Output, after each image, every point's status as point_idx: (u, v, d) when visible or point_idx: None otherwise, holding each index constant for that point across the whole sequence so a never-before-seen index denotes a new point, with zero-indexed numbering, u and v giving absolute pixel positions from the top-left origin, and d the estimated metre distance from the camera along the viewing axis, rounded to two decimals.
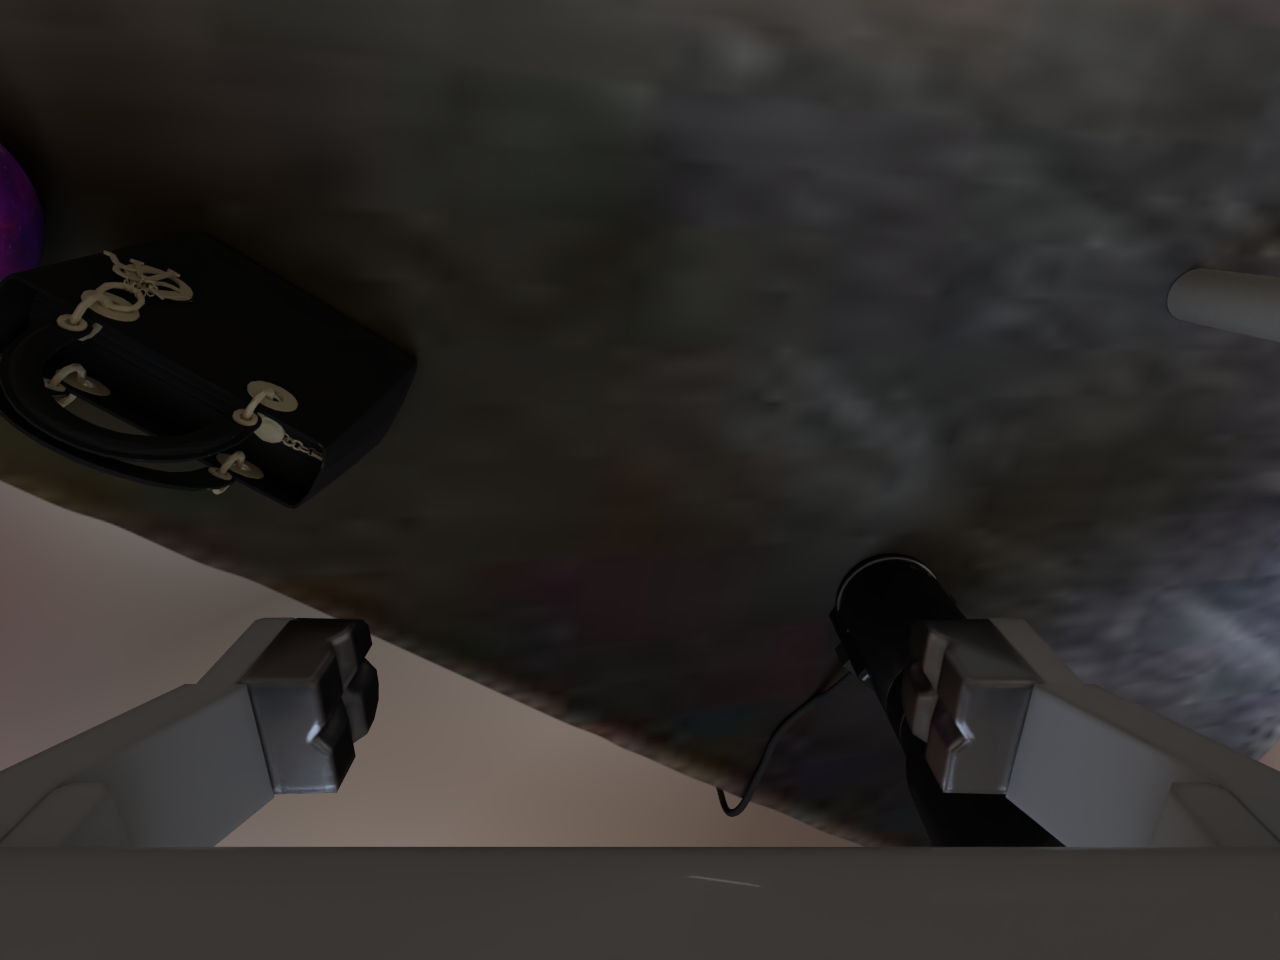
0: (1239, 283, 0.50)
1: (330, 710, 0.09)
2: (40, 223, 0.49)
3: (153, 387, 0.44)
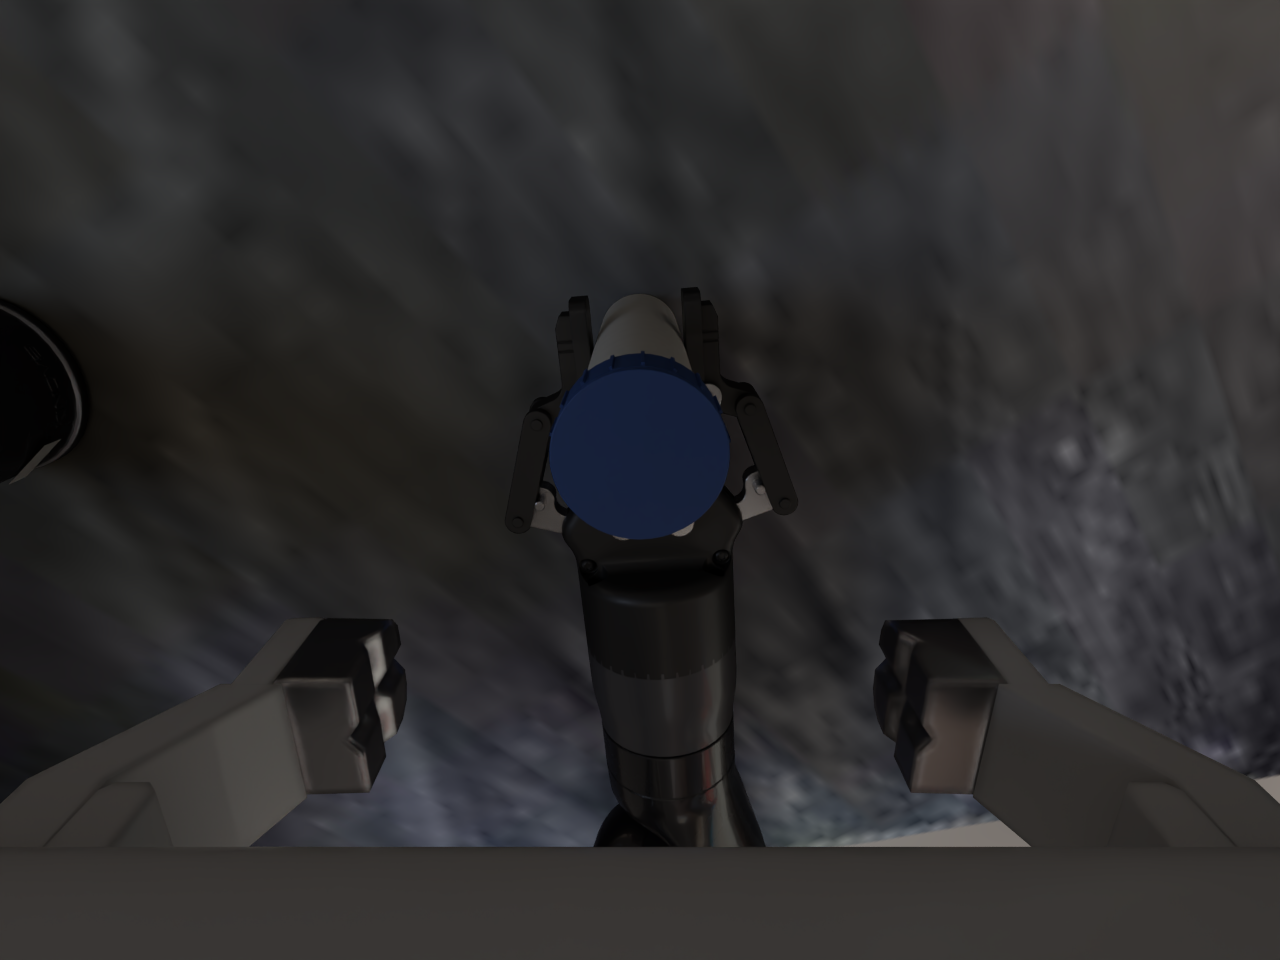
0: (645, 309, 0.31)
1: (363, 710, 0.09)
2: None
3: None
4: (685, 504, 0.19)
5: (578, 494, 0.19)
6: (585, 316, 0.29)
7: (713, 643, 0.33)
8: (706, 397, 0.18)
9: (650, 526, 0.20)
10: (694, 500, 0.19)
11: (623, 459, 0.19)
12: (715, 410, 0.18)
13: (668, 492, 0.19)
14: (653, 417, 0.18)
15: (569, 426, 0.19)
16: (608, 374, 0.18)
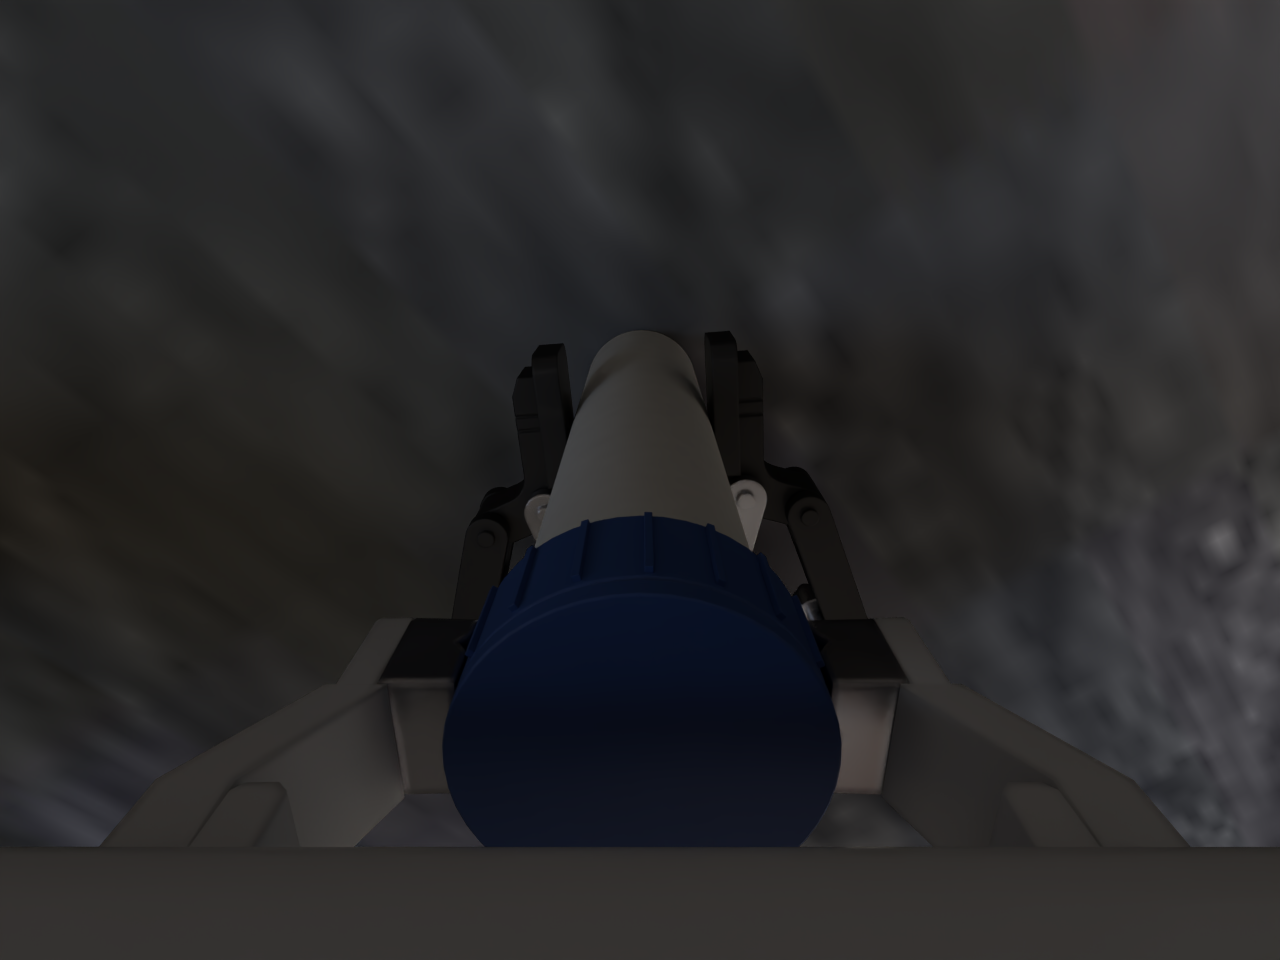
0: (649, 363, 0.21)
1: None
2: None
3: None
4: None
5: (510, 831, 0.09)
6: (558, 379, 0.19)
7: None
8: (795, 649, 0.08)
9: None
10: (759, 842, 0.09)
11: (606, 769, 0.09)
12: (814, 676, 0.08)
13: (704, 827, 0.09)
14: (673, 690, 0.08)
15: (483, 707, 0.08)
16: (569, 603, 0.08)
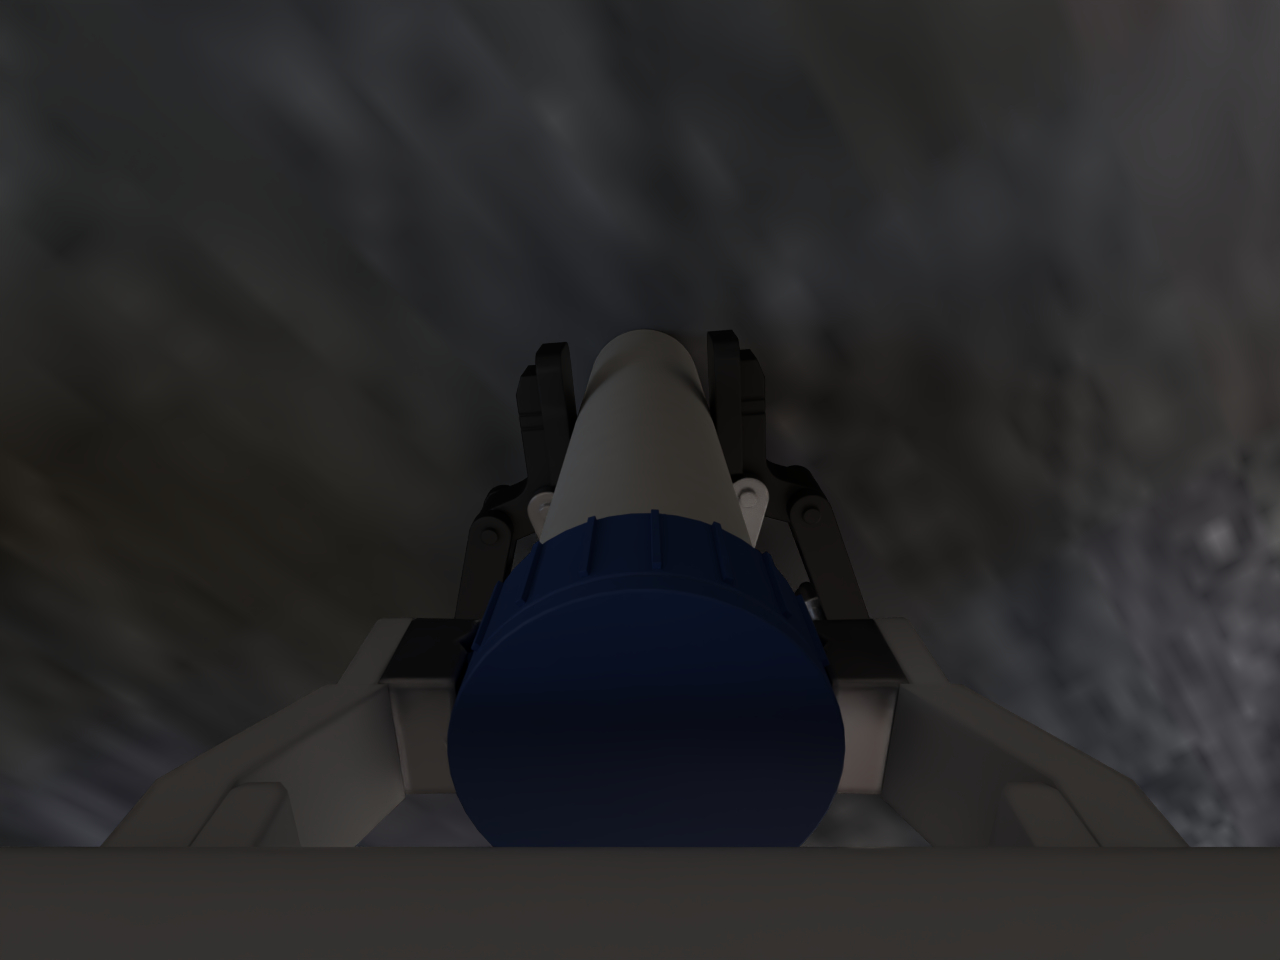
0: (652, 362, 0.21)
1: None
2: None
3: None
4: (779, 697, 0.08)
5: None
6: (561, 377, 0.19)
7: None
8: (529, 617, 0.08)
9: (812, 768, 0.09)
10: (774, 679, 0.08)
11: (641, 791, 0.09)
12: (562, 606, 0.08)
13: (740, 723, 0.08)
14: (556, 725, 0.08)
15: None
16: (453, 783, 0.09)
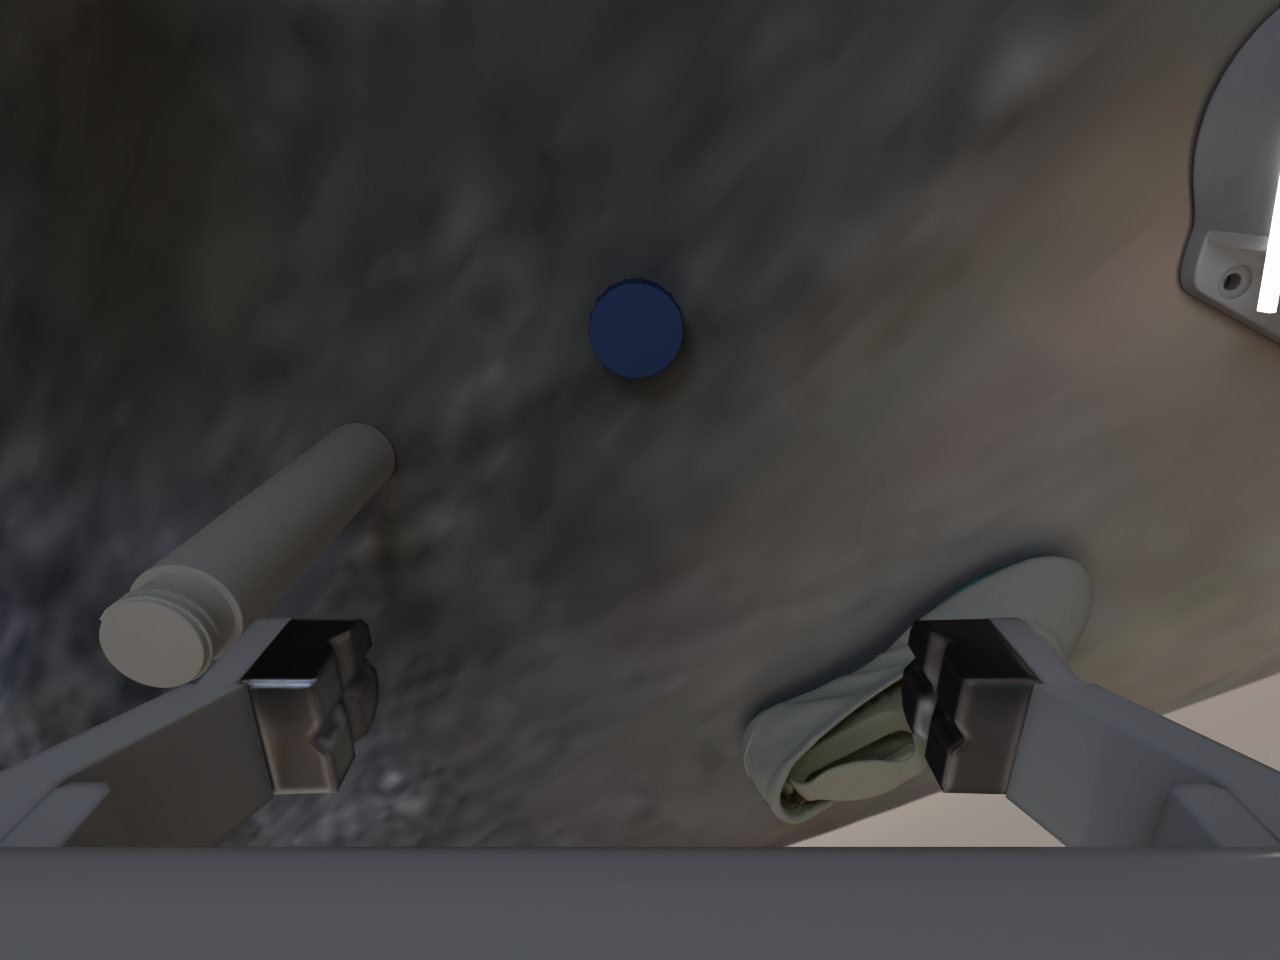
0: (358, 490, 0.36)
1: (330, 710, 0.09)
2: None
3: None
4: (671, 338, 0.36)
5: (622, 366, 0.37)
6: None
7: None
8: (644, 284, 0.35)
9: (663, 359, 0.37)
10: (673, 333, 0.36)
11: (629, 337, 0.36)
12: (652, 287, 0.35)
13: (659, 338, 0.36)
14: (628, 309, 0.36)
15: (597, 339, 0.36)
16: (596, 304, 0.36)
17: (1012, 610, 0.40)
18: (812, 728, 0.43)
